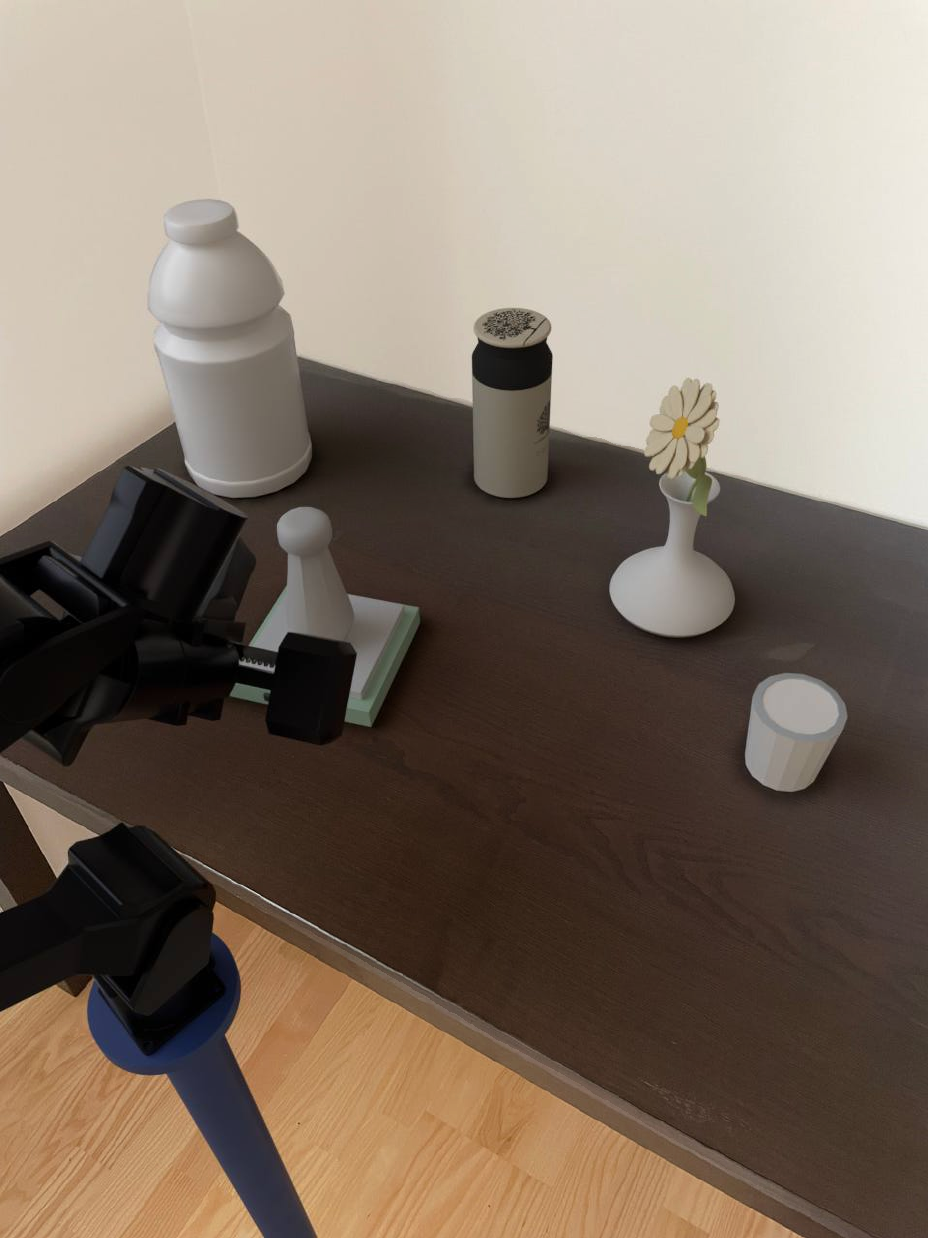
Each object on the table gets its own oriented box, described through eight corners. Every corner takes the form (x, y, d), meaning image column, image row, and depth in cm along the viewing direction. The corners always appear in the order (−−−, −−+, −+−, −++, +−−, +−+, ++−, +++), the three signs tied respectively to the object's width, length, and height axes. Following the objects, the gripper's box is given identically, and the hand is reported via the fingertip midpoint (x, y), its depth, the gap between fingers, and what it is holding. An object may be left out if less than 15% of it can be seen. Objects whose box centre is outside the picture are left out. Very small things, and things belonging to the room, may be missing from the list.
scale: (370, 730, 81) (366, 706, 79) (228, 699, 84) (221, 675, 81) (420, 622, 90) (418, 598, 88) (291, 597, 93) (286, 574, 91)
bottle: (268, 415, 116) (223, 172, 97) (338, 463, 109) (304, 209, 89) (164, 463, 109) (93, 211, 90) (231, 517, 102) (170, 256, 82)
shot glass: (828, 741, 79) (850, 683, 74) (822, 808, 74) (845, 751, 69) (742, 721, 80) (758, 663, 76) (731, 785, 76) (747, 728, 71)
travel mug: (459, 484, 105) (454, 330, 93) (500, 449, 110) (500, 298, 97) (522, 509, 102) (525, 353, 89) (560, 472, 106) (569, 318, 94)
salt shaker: (368, 624, 85) (353, 506, 76) (335, 668, 82) (315, 549, 73) (312, 606, 87) (290, 488, 78) (277, 647, 84) (250, 529, 75)
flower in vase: (613, 559, 96) (640, 323, 78) (732, 572, 94) (785, 334, 76) (600, 652, 87) (626, 409, 69) (730, 670, 85) (791, 424, 67)
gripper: (325, 548, 50) (407, 573, 66) (17, 493, 55) (162, 528, 70) (285, 759, 50) (377, 735, 66) (-19, 688, 55) (133, 680, 70)
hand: (259, 663), depth 68 cm, fingers open, 9 cm apart
